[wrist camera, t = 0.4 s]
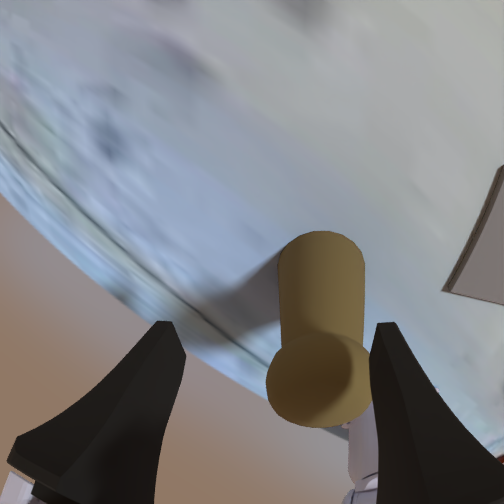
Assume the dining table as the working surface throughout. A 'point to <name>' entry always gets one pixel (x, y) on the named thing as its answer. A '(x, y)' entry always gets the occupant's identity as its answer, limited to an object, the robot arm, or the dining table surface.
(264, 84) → the dining table surface
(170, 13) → the dining table surface
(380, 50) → the dining table surface
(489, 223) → the slate coaster
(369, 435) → the robot arm
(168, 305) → the dining table surface
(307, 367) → the cork
